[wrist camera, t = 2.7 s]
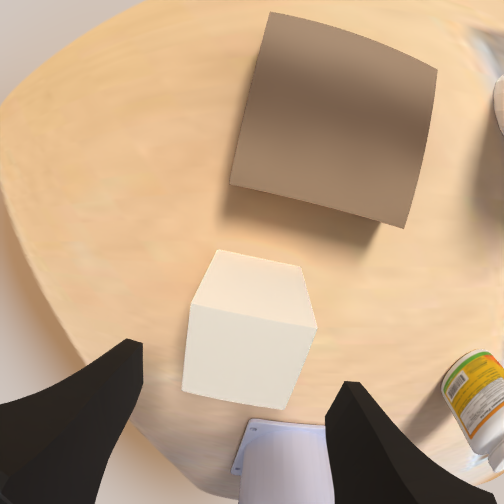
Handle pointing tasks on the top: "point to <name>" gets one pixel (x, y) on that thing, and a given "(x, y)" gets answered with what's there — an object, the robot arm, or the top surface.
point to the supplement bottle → (478, 403)
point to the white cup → (499, 102)
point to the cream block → (248, 331)
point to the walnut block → (335, 120)
